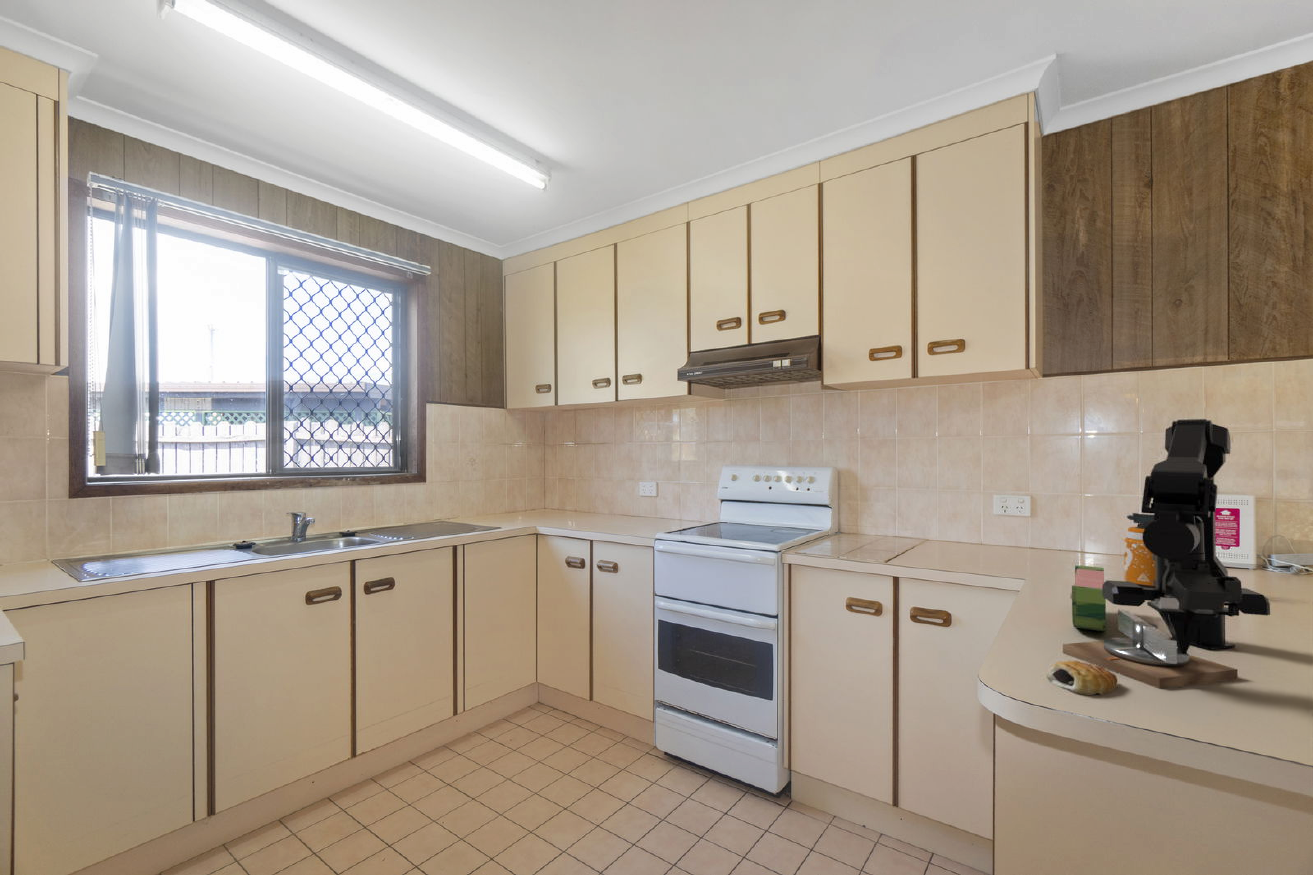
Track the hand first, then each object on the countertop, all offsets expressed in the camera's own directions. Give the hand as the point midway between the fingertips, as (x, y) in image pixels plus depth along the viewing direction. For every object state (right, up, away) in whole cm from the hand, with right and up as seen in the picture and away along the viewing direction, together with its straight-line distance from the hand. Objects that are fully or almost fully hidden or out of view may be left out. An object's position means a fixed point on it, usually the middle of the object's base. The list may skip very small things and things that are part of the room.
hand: (1182, 653), depth 91 cm
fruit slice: (+8, -6, +30) cm, 32 cm away
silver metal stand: (+1, -3, +8) cm, 8 cm away
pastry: (-16, -5, -1) cm, 17 cm away
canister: (+44, -6, +59) cm, 74 cm away
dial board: (+1, -5, +8) cm, 9 cm away
